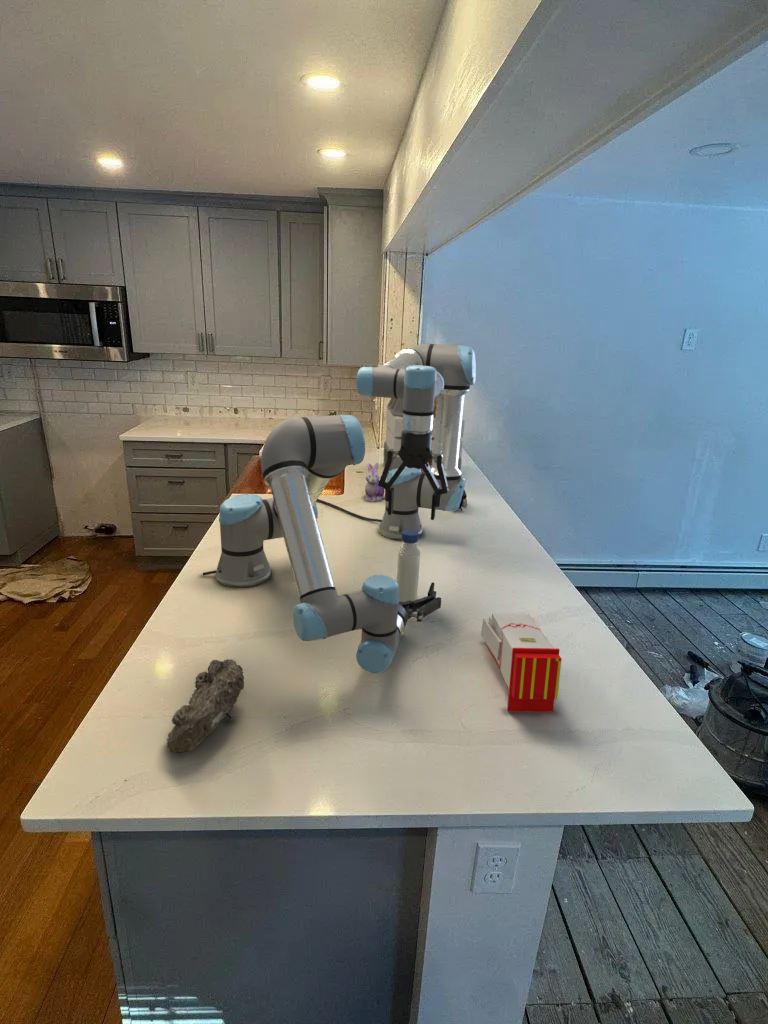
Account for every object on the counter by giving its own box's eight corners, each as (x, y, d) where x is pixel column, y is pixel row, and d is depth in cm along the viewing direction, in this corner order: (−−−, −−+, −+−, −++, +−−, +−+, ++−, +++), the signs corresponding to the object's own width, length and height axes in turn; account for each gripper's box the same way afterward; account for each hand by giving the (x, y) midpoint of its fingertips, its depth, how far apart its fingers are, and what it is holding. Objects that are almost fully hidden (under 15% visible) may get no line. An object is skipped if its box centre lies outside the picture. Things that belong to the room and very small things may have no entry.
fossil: (192, 660, 117) (244, 628, 112) (224, 691, 120) (276, 661, 115) (142, 746, 98) (202, 712, 93) (182, 779, 101) (242, 748, 96)
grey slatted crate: (382, 463, 289) (386, 382, 275) (445, 464, 293) (451, 384, 279) (390, 482, 257) (394, 392, 243) (460, 483, 261) (468, 394, 247)
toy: (527, 598, 138) (570, 654, 108) (522, 650, 141) (563, 718, 111) (477, 597, 137) (507, 653, 108) (474, 649, 140) (502, 717, 111)
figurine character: (467, 516, 223) (461, 500, 237) (469, 499, 220) (463, 483, 233) (450, 516, 223) (446, 499, 236) (452, 498, 220) (447, 483, 233)
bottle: (421, 600, 155) (426, 533, 148) (408, 607, 151) (412, 540, 144) (404, 593, 159) (407, 527, 152) (390, 600, 154) (394, 533, 148)
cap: (421, 540, 149) (422, 532, 148) (411, 545, 146) (412, 536, 145) (408, 535, 152) (408, 528, 151) (398, 540, 148) (398, 532, 148)
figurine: (369, 503, 229) (370, 467, 224) (358, 496, 237) (359, 461, 232) (389, 500, 233) (391, 465, 228) (378, 493, 242) (380, 459, 236)
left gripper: (337, 628, 134) (361, 589, 154) (441, 646, 129) (453, 603, 149) (337, 600, 132) (362, 563, 151) (444, 617, 127) (455, 577, 146)
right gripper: (465, 432, 140) (457, 516, 148) (375, 424, 144) (371, 506, 152) (462, 438, 133) (454, 525, 141) (367, 429, 138) (364, 515, 145)
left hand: (407, 583), depth 150 cm, fingers open, 13 cm apart
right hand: (411, 515), depth 146 cm, fingers open, 10 cm apart
